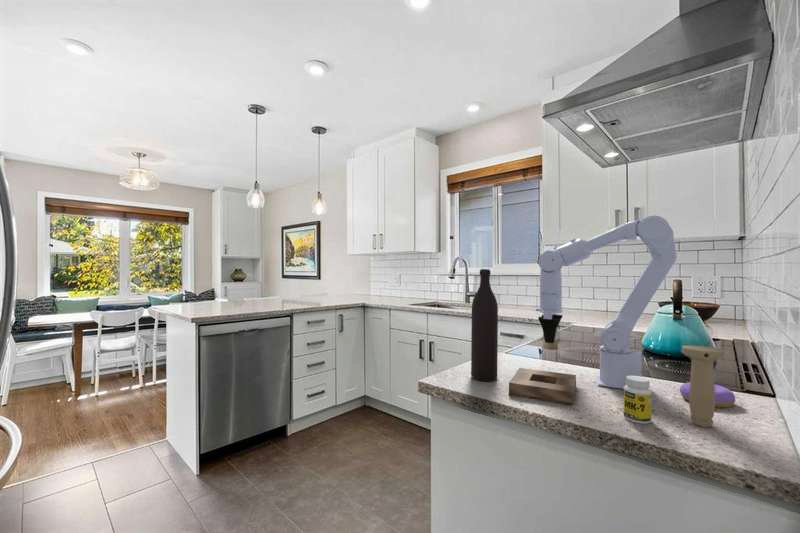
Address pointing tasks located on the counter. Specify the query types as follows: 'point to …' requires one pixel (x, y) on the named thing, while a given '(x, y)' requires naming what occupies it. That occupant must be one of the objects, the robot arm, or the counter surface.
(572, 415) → the counter surface
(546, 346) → the peg
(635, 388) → the supplement bottle
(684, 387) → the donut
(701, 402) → the handle
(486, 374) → the wine bottle
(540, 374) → the socket block
